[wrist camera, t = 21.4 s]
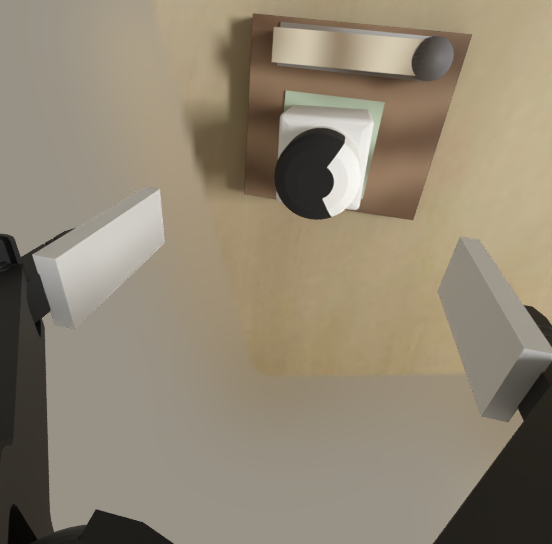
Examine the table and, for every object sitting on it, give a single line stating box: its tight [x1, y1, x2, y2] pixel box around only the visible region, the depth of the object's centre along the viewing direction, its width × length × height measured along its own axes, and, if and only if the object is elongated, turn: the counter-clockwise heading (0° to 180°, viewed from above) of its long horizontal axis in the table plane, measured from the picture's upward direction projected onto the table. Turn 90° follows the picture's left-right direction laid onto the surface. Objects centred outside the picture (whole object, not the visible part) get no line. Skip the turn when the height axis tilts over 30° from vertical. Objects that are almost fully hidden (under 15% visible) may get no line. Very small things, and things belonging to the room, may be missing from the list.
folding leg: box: [272, 27, 454, 81], centre depth 29 cm, size 14×3×2 cm, turn 85°
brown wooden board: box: [244, 14, 472, 220], centre depth 34 cm, size 16×18×2 cm
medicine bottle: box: [274, 105, 374, 220], centre depth 29 cm, size 7×7×12 cm
